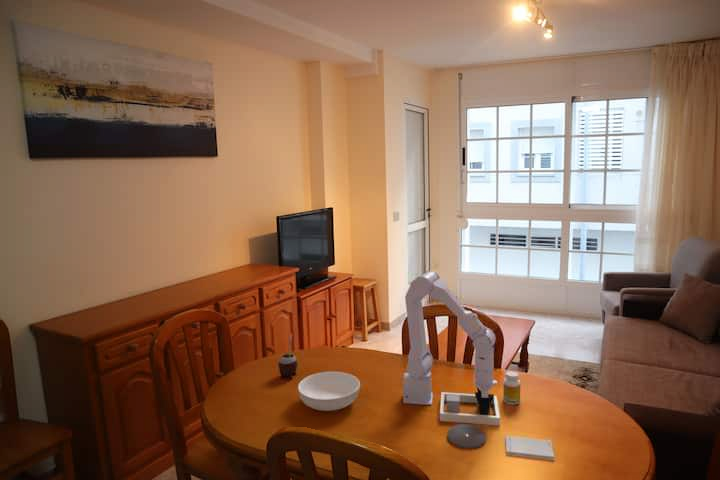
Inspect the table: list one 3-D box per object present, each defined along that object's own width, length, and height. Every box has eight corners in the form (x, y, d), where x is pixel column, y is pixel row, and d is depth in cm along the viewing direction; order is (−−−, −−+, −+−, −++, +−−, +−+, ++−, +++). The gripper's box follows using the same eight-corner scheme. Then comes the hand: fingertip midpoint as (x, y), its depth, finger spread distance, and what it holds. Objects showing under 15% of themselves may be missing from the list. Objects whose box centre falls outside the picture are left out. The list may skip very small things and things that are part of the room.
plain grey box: (446, 416, 155) (446, 400, 154) (446, 410, 159) (446, 394, 158) (459, 417, 154) (459, 401, 153) (459, 411, 158) (459, 395, 157)
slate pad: (446, 446, 139) (446, 443, 139) (447, 425, 150) (447, 422, 149) (486, 450, 137) (486, 446, 137) (484, 428, 147) (484, 425, 147)
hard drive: (550, 439, 139) (505, 434, 142) (554, 456, 131) (506, 450, 134) (550, 445, 139) (505, 439, 142) (554, 462, 132) (506, 456, 135)
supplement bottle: (520, 405, 160) (521, 377, 159) (503, 404, 161) (504, 376, 160) (519, 397, 165) (519, 370, 164) (502, 396, 167) (503, 369, 165)
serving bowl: (373, 401, 166) (372, 382, 165) (328, 427, 151) (327, 406, 150) (330, 383, 180) (330, 365, 179) (286, 405, 165) (284, 386, 164)
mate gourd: (283, 382, 182) (281, 343, 179) (275, 374, 189) (273, 337, 186) (301, 377, 186) (299, 339, 183) (293, 369, 192) (291, 333, 190)
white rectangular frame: (439, 420, 153) (439, 413, 152) (441, 399, 166) (441, 392, 166) (499, 425, 149) (499, 417, 149) (496, 402, 162) (496, 395, 162)
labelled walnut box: (477, 415, 155) (477, 399, 154) (476, 409, 159) (476, 393, 158) (490, 416, 154) (490, 399, 153) (489, 410, 158) (489, 393, 157)
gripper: (499, 379, 146) (498, 420, 149) (495, 359, 160) (494, 397, 163) (474, 377, 148) (474, 419, 150) (473, 358, 162) (473, 396, 164)
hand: (483, 408), depth 156 cm, fingers open, 7 cm apart
